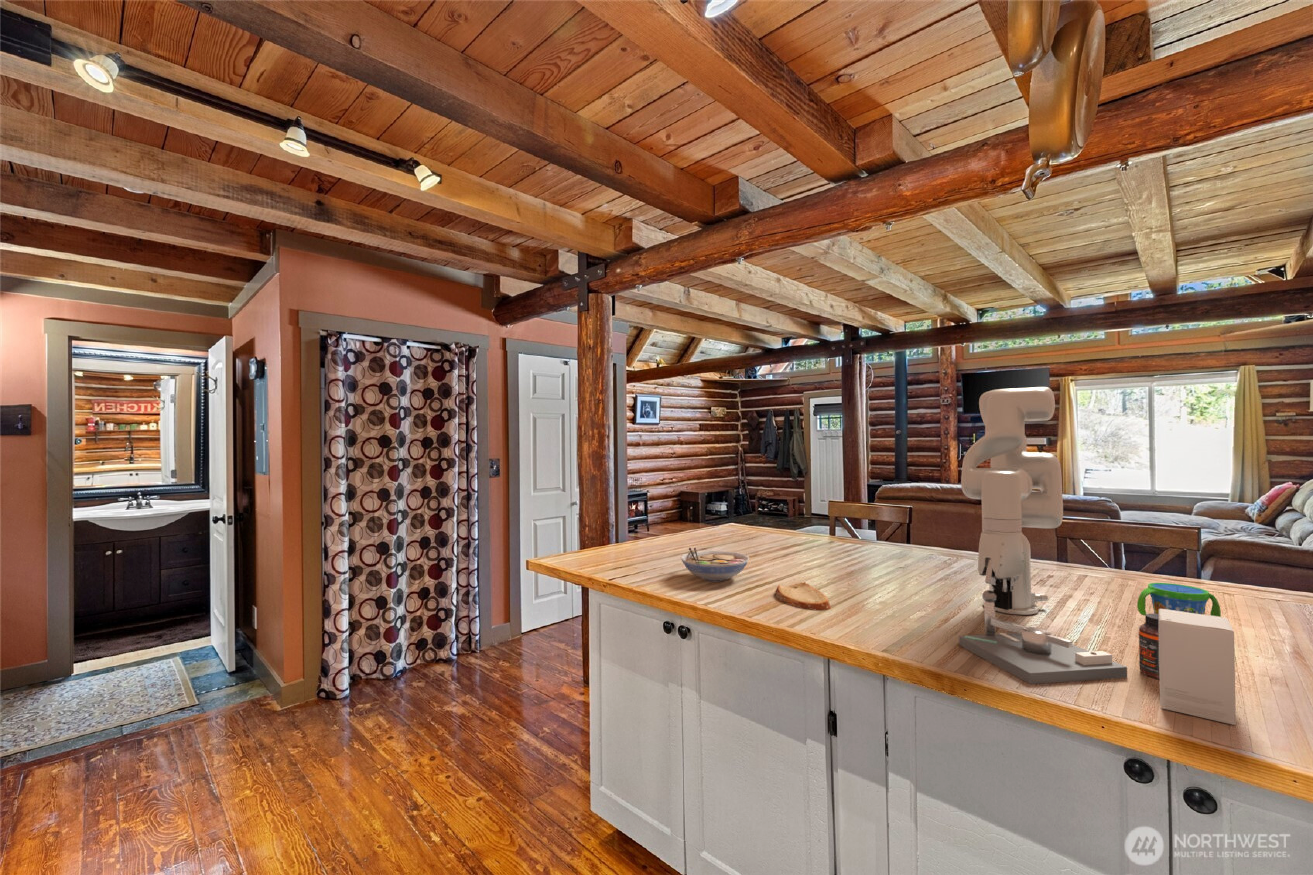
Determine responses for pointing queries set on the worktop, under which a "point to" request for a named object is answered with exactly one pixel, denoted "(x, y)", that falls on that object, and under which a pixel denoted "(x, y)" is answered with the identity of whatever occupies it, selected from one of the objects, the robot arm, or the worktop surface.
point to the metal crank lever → (1020, 629)
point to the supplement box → (1197, 665)
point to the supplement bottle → (1149, 646)
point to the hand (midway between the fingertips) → (1003, 607)
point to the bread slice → (803, 596)
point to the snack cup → (1177, 599)
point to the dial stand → (1043, 660)
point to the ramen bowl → (714, 564)
